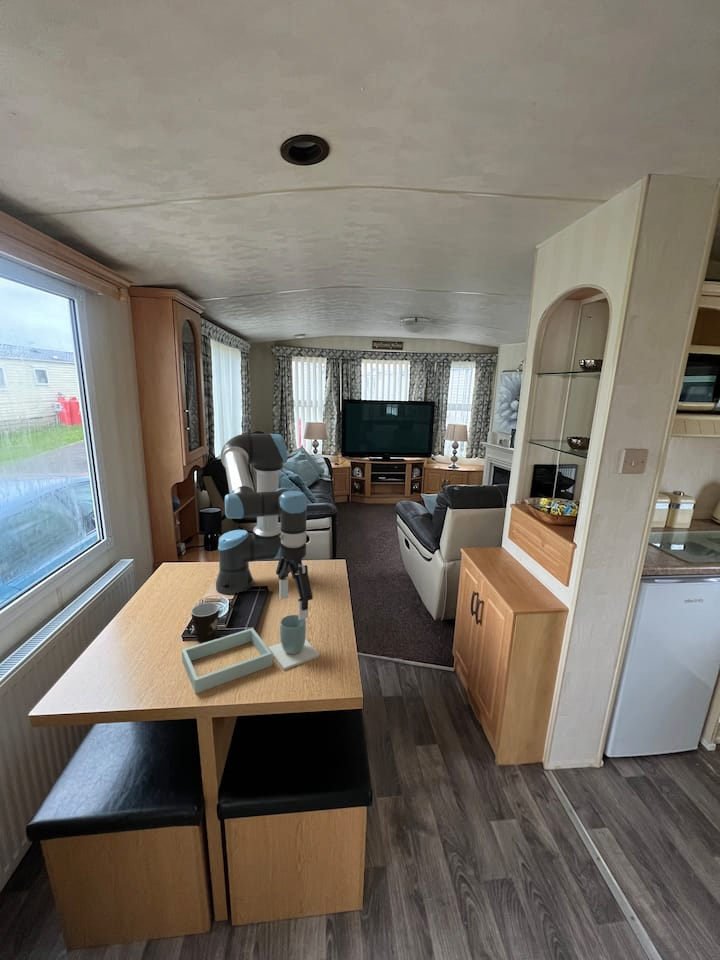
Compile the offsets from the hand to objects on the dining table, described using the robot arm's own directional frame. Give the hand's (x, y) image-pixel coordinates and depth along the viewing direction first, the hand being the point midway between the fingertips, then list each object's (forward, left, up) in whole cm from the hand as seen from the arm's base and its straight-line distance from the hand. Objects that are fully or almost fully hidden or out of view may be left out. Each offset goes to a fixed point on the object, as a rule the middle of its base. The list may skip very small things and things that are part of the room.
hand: (293, 607), depth 125 cm
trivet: (0, 0, -15) cm, 15 cm away
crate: (-6, -19, -15) cm, 25 cm away
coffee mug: (-23, -22, -16) cm, 35 cm away
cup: (0, 0, -15) cm, 15 cm away
